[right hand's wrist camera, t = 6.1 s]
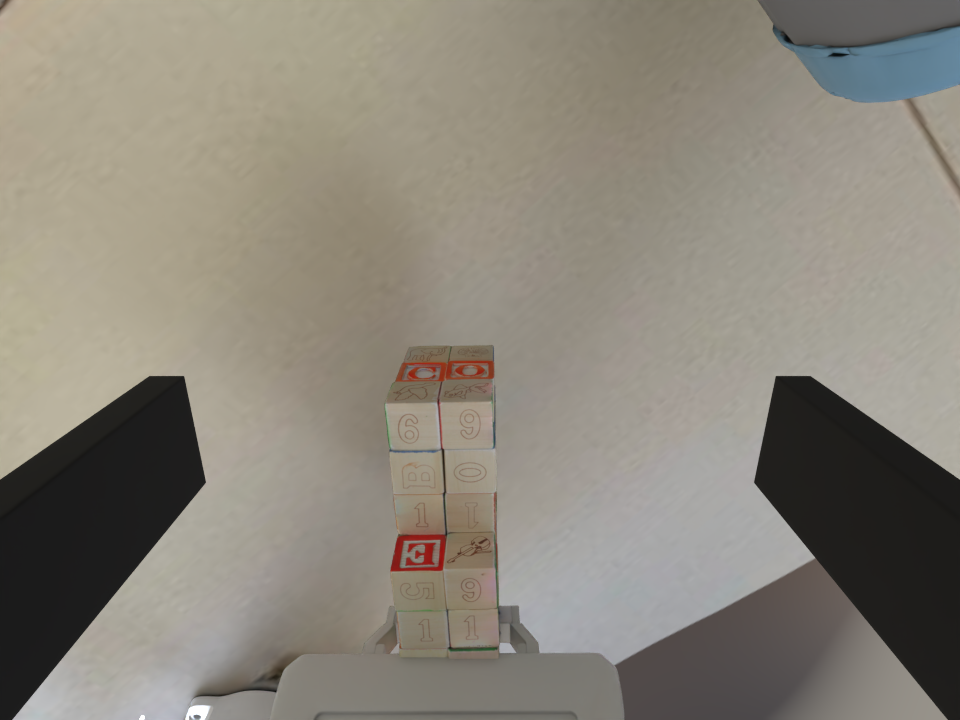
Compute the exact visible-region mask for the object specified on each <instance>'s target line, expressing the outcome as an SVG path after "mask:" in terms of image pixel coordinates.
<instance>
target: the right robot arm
mask: <svg viewBox="0 0 960 720" xmlns="http://www.w3.org/2000/svg"><path fill="white" fill-rule="evenodd" d="M758 1H759V3H760V4H761V6H762V7H763V9H764V10H765V12H766V13H767V15H768V16H769V18H770V19H771V21H772V22H773V24H774V25H773V32H774V34H775V36H776V37H777V39H778V40H779V41H780V43H781V44H782V45H783V46H785V47H786V48H788V49H790V50H791V51H793V52H795V54H796V55H797V56H798V58H799V59H800V60H801V62H802V63H803V64H804V66H805V67H806V68H807V70H808V71H809V72H810V73H811V75H812V76H813V77H814V79H815V80H816V81H817V83H818V84H819V85H820V86H821V87H822V88H823V89H825V90H826V91H828V92H829V93H830V94H832V95H835V96H840V97H844V98H846V99H850V100H852V101H855V102H865V103H872V102H889V101H896V100H903V99H908V98H913V97H918V96H922V95H926V94H929V93H933V92H936V91H940V90H943V89H947V88H950V87H953V86H956V85H959V84H960V0H758ZM205 483H206V481H205V476H204V471H203V466H202V461H201V456H200V451H199V446H198V442H197V437H196V432H195V427H194V422H193V417H192V412H191V407H190V403H189V398H188V393H187V388H186V383H185V378H184V376H149V377H148V378H146V379H145V380H143V381H142V382H140V383H139V384H138V385H136V386H135V387H133V388H132V389H130V390H129V391H127V392H126V393H125V394H123V395H122V396H120V397H119V398H117V399H116V400H114V401H113V402H112V403H110V404H109V405H107V406H106V407H104V408H103V409H101V410H100V411H99V412H97V413H96V414H94V415H93V416H91V417H90V418H89V419H87V420H86V421H84V422H83V423H81V424H80V425H78V426H77V427H76V428H74V429H73V430H71V431H70V432H68V433H67V434H65V435H64V436H63V437H61V438H60V439H58V440H57V441H55V442H54V443H52V444H51V445H50V446H48V447H47V448H45V449H44V450H42V451H41V452H40V453H38V454H37V455H35V456H34V457H32V458H31V459H29V460H28V461H27V462H25V463H24V464H22V465H21V466H19V467H18V468H16V469H15V470H14V471H12V472H11V473H9V474H8V475H6V476H5V477H3V478H2V479H1V480H0V720H12V719H13V718H14V717H15V716H16V714H17V713H18V712H19V711H20V710H21V708H22V707H23V706H24V705H25V703H26V702H27V701H28V700H29V699H30V697H31V696H32V695H33V694H34V692H35V691H36V690H37V689H38V688H39V686H40V685H41V684H42V683H43V681H44V680H45V679H46V678H47V677H48V675H49V674H50V673H51V672H52V670H53V669H54V668H55V667H56V665H57V664H58V663H59V662H60V661H61V659H62V658H63V657H64V656H65V654H66V653H67V652H68V651H69V650H70V648H71V647H72V646H73V645H74V643H75V642H76V641H77V640H78V639H79V637H80V636H81V635H82V634H83V632H84V631H85V630H86V629H87V628H88V626H89V625H90V624H91V623H92V621H93V620H94V619H95V618H96V617H97V615H98V614H99V613H100V612H101V610H102V609H103V608H104V607H105V605H106V604H107V603H108V602H109V601H110V599H111V598H112V597H113V596H114V594H115V593H116V592H117V591H118V590H119V588H120V587H121V586H122V585H123V583H124V582H125V581H126V580H127V579H128V577H129V576H130V575H131V574H132V572H133V571H134V570H135V569H136V568H137V566H138V565H139V564H140V563H141V561H142V560H143V559H144V558H145V557H146V555H147V554H148V553H149V552H150V550H151V549H152V548H153V547H154V545H155V544H156V543H157V542H158V541H159V539H160V538H161V537H162V536H163V534H164V533H165V532H166V531H167V530H168V528H169V527H170V526H171V525H172V523H173V522H174V521H175V520H176V519H177V517H178V516H179V515H180V514H181V512H182V511H183V510H184V509H185V508H186V506H187V505H188V504H189V503H190V501H191V500H192V499H193V498H194V497H195V495H196V494H197V493H198V492H199V490H200V489H201V488H202V487H203V485H204V484H205ZM754 483H755V484H756V485H757V487H758V488H759V489H760V490H761V492H762V493H763V494H764V495H765V497H766V498H767V499H768V500H769V501H770V503H771V504H772V505H773V506H774V508H775V509H776V510H777V511H778V512H779V514H780V515H781V516H782V517H783V519H784V520H785V521H786V522H787V523H788V525H789V526H790V527H791V528H792V530H793V531H794V532H795V533H796V534H797V536H798V537H799V538H800V539H801V541H802V542H803V543H804V544H805V545H806V547H807V548H808V549H809V550H810V552H811V553H812V554H813V555H814V557H815V558H816V559H817V560H818V561H819V563H820V564H821V565H822V566H823V568H824V569H825V570H826V571H827V572H828V574H829V575H830V576H831V577H832V579H833V580H834V581H835V582H836V583H837V585H838V586H839V587H840V588H841V590H842V591H843V592H844V593H845V594H846V596H847V597H848V598H849V599H850V601H851V602H852V603H853V604H854V605H855V607H856V608H857V609H858V610H859V612H860V613H861V614H862V615H863V617H864V618H865V619H866V620H867V621H868V623H869V624H870V625H871V626H872V627H873V629H874V630H875V631H876V632H877V634H878V635H879V636H880V637H881V639H882V640H883V641H884V642H885V643H886V645H887V646H888V647H889V648H890V649H891V651H892V652H893V653H894V654H895V656H896V657H897V658H898V659H899V661H900V662H901V663H902V664H903V665H904V667H905V668H906V669H907V670H908V672H909V673H910V674H911V675H912V676H913V678H914V679H915V680H916V681H917V683H918V684H919V685H920V686H921V688H922V689H923V690H924V691H925V692H926V694H927V695H928V696H929V697H930V698H931V700H932V701H933V702H934V703H935V705H936V706H937V707H938V708H939V710H940V711H941V712H942V713H943V714H944V716H945V717H946V718H947V719H948V720H960V480H959V479H958V478H957V477H955V476H954V475H952V474H951V473H949V472H948V471H946V470H945V469H944V468H942V467H941V466H939V465H938V464H936V463H935V462H933V461H932V460H931V459H929V458H928V457H926V456H925V455H923V454H922V453H920V452H919V451H918V450H916V449H915V448H913V447H912V446H910V445H909V444H908V443H906V442H905V441H903V440H902V439H900V438H899V437H897V436H896V435H895V434H893V433H892V432H890V431H889V430H887V429H886V428H884V427H883V426H882V425H880V424H879V423H877V422H876V421H874V420H873V419H871V418H870V417H869V416H867V415H866V414H864V413H863V412H861V411H860V410H859V409H857V408H856V407H854V406H853V405H851V404H850V403H848V402H847V401H846V400H844V399H843V398H841V397H840V396H838V395H837V394H835V393H834V392H833V391H831V390H830V389H828V388H827V387H825V386H824V385H822V384H821V383H820V382H818V381H817V380H815V379H814V378H812V377H811V376H776V378H775V383H774V388H773V393H772V398H771V403H770V407H769V412H768V417H767V422H766V427H765V432H764V437H763V442H762V446H761V451H760V456H759V461H758V466H757V471H756V476H755V481H754Z"/></svg>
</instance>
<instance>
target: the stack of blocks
mask: <svg viewBox="0 0 960 720" xmlns="http://www.w3.org/2000/svg"><path fill="white" fill-rule="evenodd" d="M385 414H386V423H387V432H388V441H389V447H390V450H389V458H390V467H391V477H392V485H393V493H394V508H395V516H396V524H397V530H398V533H399V535H398V537H397V541H396V546H395V551H394V555H393V560H392V565H391V570H390V574H391V582H392V589H393V598H394V606H395V610H396V611H397V622H398V630H399V639H400V645H399V655H400V657H402V658H407V657H418V658H425V657H449V659H498V658H499V644H500V637H499V617H498V607H499V585H498V548H497V492H496V490H497V464H496V402H495V385H494V346H492V345H489V346H418V347H410V348H409V349H408V351H407V354H406V356H405V359H404V362H403V363H402V365H401V368H400V370H399V373H398V375H397V378H396V382H394V383H393V384H392V386H391V389H390V391H389V394H388V396H387V399H386V402H385Z"/></svg>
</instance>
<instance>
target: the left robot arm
mask: <svg viewBox="0 0 960 720" xmlns="http://www.w3.org/2000/svg"><path fill="white" fill-rule="evenodd" d="M498 617H499V637H500V643H510V644H511V645H512V647H513V648H514V650H515V651H516V652H517V653H499V658H498V659H449V657H425V658H418V657H407V658H402V657H400V655H399V654H389V653H390V652H391V651H392V650H393V648H394V647H395V646H396V645H397V643H400V639H399V630H398V622H397V611H396V610H395V606H390V607H389V611H388V615H387V620H386V624H383V625H382V626H381V627H380V628H379V629H378V630H377V631H376V632H375V633H374V634H373V635H372V636H371V637H370V638H369V639H368V640H367V641H366V642H365V643H364V647H363V651H362V654H304V655H301V656H300V657H298V658H297V659H296V660H294V661H293V662H292V663H291V664H290V665H288V666H287V667H286V668H285V670H284V671H283V674H282V677H281V679H280V683H279V686H278V689H277V692H270V691H260V690H253V691H243V692H237V693H234V694H230V695H226V696H221V697H216V696H199V697H195V698H194V699H193V700H192V702H191V704H190V707H189V709H188V712H187V715H186V718H185V720H625V717H624V707H623V698H622V692H621V686H620V681H619V676H618V672H617V669H616V667H615V666H614V665H613V664H612V663H611V662H610V661H609V660H607V659H606V658H605V657H604V656H603V655H601V654H599V653H539V645H538V642H537V641H536V640H535V638H534V637H533V636H532V635H531V634H530V633H529V631H528V630H527V629H526V628H525V627H524V625H523V624H522V623H520V618H519V606H499V607H498ZM144 717H145V716H141V718H140V719H139V720H144Z"/></svg>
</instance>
